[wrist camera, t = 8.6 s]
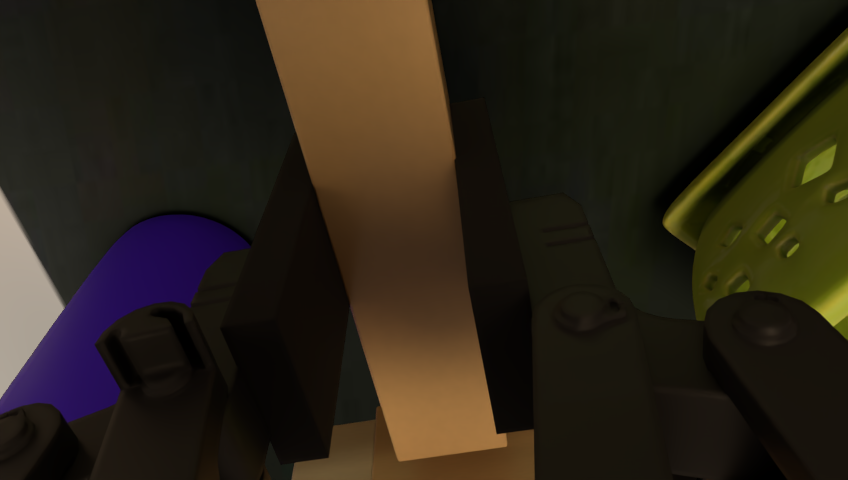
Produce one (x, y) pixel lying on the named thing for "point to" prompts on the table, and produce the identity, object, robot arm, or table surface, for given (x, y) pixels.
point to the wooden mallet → (393, 236)
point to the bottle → (117, 310)
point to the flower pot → (777, 200)
